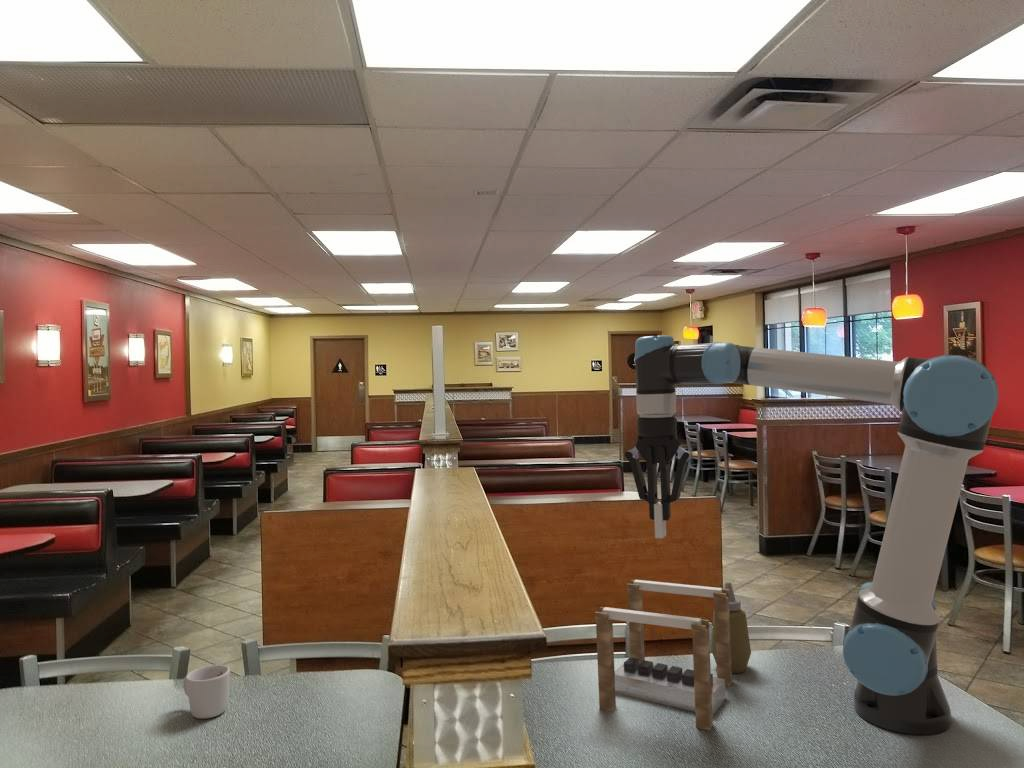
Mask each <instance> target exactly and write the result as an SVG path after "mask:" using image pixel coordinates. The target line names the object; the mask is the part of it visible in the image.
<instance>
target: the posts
mask: <svg viewBox="0 0 1024 768" xmlns="http://www.w3.org/2000/svg"><path fill="white" fill-rule="evenodd" d="M635 580H636V579H631V580H630V583H626V590H627V610H634V611H642V612H644V605H643V590H639V586H638V584H633V581H635ZM713 595H714V598H713V602H714V604H713V605H714V610H715V633H716V658H717V665H716V677H717V678H721V679H725V686H731V684H732V682H733V675H732V674H733V673H732V667H731V642H730V616H729V589H724V588H722V593H717V592H714V593H713ZM605 607H606V606H605ZM605 607H604V606H600V607H599V611H595V612H594V620H595V630H596V631H595V632H596V652H597V653H596V654H597V655H596V656H597V657H596V658H597V678H598V681H597V682H598V704H599V705H598V707H599V710H601V711H605V712H606V711H607V712H613V711H614V710H615V708H616V706H617V703H616V702H617V701H616V693H615V671H616V670H615V653H614V651H615V650H614V649H615V648H614V647H615V646H614V629H613V627H614V626H613V625H614V624H613V619H608V613H603V612H602V610H603V609H604V608H605ZM700 619H701V625H700V624H691V629H690V630H691V634H692V637H691V638H692V659H693V660H692V661H693V670H694V689H695V711H694V712H695V714H694V715H695V728H696V729H701V730H705V731H711V730H712V727H713V724H714V723H713V715H712V694H711V674H712V672H711V670H712V669H711V651H710V650H711V646H710V645H711V643H710V619H704V618H703V619H702V618H700ZM644 631H645V629H644V623H636V622H628V634H629V637H628V638H629V656H630V657H631V658H636V659H639V662H642V661H643V660H645V659H646V658H645V657H646V656H645V633H644ZM630 657H629V658H630Z"/></svg>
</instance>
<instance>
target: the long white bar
mask: <svg viewBox="0 0 1024 768" xmlns="http://www.w3.org/2000/svg"><path fill="white" fill-rule="evenodd" d="M602 612H603V613H608V619H612V621H613V620H614V621H622V622H628V623H629V622H636V623H643V625H644V624H646V625H653V626H661V627H667V628H676V629H683V630H684V629H685V630H691V624H700V625H701V619H702V618H701V617H699V618H698V617H691V616H682V615H674V614H666V613H657V612H650V611H649V612H648V611H643V612H642V611H634V610H628V609H623V608H617V607H616V608H615V607H607V606H605V608H604V609H603V610H602Z"/></svg>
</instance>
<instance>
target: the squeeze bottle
mask: <svg viewBox="0 0 1024 768" xmlns="http://www.w3.org/2000/svg"><path fill="white" fill-rule="evenodd" d="M723 589H729V616H730V642H731V667H732V674H739V673H743V672H745V671H746V670H747V667H748V664H749V661H750V658H751V654H752V650H751V649H752V648H751V643H750V641H751V640H750V636H749V629H748V622H747V615H746V612H745V611H744V610H743V609H742V608H741V607H742V606H741V600H740V599H739V598H737V597H736V596H735V594H734V593H735V592H734V588H733V586H732V582H730V581H729V582H728V581H727V582H725V583H724V588H723ZM712 612H713V615H712V627H711V628H712V630H711V632H712V633H711V643H710V645H711V646H710V650H711V651H710V652H711V654H712V656H713V659H714V662H715V663H716V666H717V658H716V633H715V609H714V610H713V611H712Z"/></svg>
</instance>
